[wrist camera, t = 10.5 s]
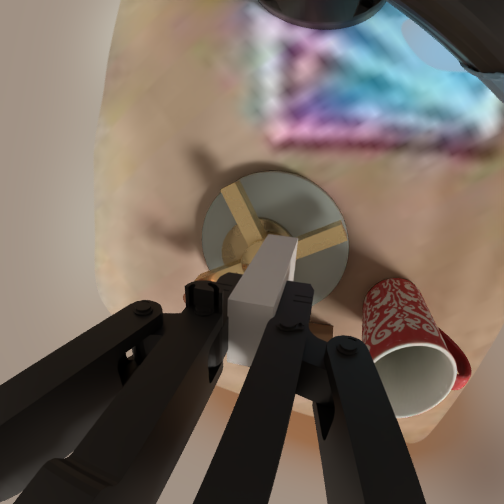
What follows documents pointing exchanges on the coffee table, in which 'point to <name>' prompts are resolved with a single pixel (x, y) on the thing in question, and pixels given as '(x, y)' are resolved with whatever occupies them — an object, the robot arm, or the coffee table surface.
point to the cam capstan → (262, 235)
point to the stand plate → (284, 224)
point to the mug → (410, 348)
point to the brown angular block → (321, 331)
